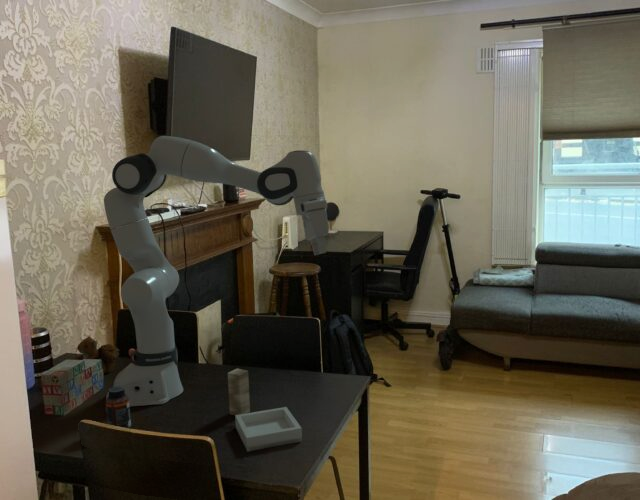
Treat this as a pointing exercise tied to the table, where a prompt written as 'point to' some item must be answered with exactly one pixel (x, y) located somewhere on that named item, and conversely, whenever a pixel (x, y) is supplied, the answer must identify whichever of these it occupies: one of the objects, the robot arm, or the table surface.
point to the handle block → (238, 392)
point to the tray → (268, 428)
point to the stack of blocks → (70, 384)
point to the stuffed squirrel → (98, 353)
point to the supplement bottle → (118, 408)
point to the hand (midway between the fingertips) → (320, 254)
